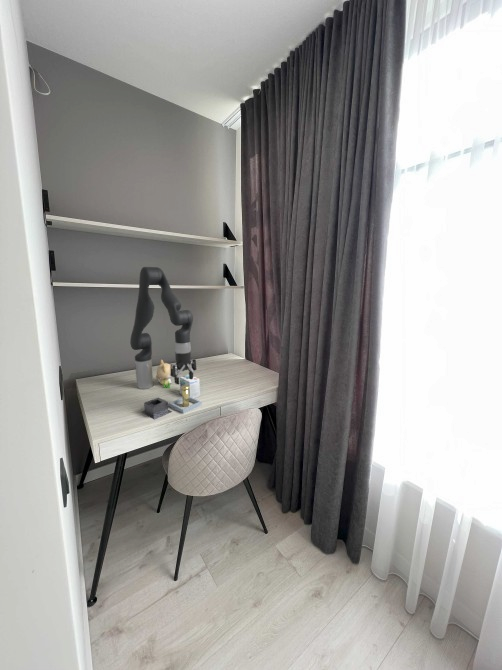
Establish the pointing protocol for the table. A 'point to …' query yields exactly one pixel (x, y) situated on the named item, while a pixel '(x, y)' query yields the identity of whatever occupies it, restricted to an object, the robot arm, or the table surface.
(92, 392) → the table surface
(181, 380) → the light bulb box
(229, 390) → the table surface
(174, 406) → the tray
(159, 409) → the block
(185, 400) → the pin
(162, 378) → the kitten
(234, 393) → the table surface
